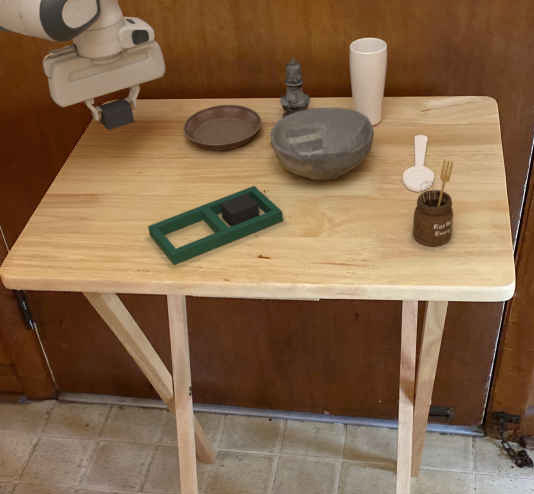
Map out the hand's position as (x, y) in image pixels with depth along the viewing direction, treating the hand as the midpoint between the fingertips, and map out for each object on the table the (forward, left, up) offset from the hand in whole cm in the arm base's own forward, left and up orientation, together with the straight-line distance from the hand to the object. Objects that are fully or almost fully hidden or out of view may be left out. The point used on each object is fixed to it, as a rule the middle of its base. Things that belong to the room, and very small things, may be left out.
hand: (115, 113), depth 144 cm
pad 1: (0, 0, -2) cm, 2 cm away
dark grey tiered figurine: (+34, -4, -11) cm, 36 cm away
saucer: (+19, -2, -11) cm, 22 cm away
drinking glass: (+44, -14, -11) cm, 48 cm away
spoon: (+43, -32, -10) cm, 54 cm away
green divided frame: (+4, -28, -10) cm, 30 cm away
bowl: (+28, -23, -11) cm, 38 cm away
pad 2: (+9, -28, -10) cm, 31 cm away
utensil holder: (+31, -50, -11) cm, 60 cm away
